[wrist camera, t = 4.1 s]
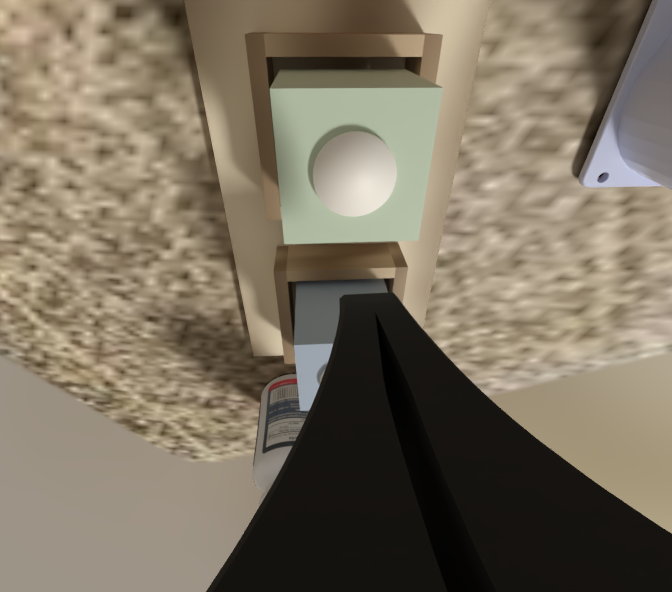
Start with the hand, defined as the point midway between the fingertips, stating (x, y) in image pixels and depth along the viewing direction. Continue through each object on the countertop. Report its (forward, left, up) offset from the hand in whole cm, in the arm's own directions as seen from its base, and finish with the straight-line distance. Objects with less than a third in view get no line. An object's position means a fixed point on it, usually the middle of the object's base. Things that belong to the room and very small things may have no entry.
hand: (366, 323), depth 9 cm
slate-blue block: (0, +6, -8) cm, 10 cm away
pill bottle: (+3, +16, -11) cm, 20 cm away
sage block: (0, -3, -8) cm, 8 cm away
